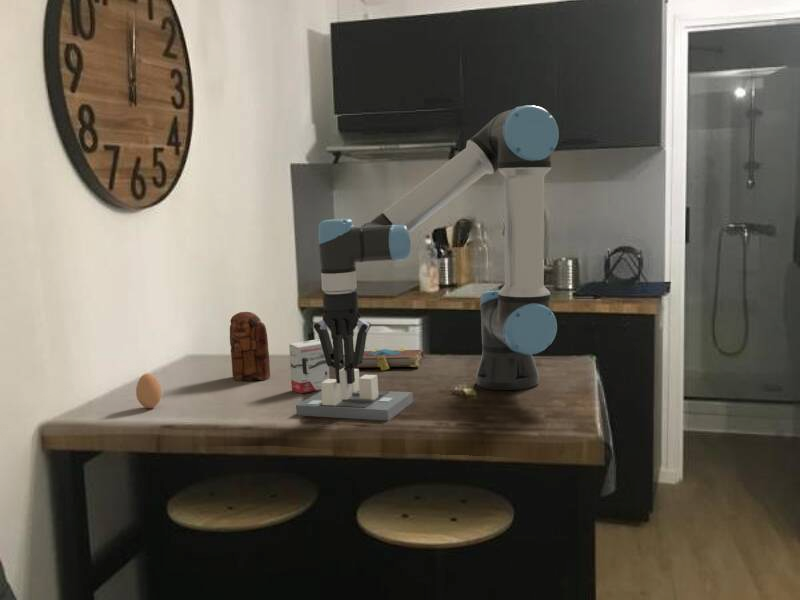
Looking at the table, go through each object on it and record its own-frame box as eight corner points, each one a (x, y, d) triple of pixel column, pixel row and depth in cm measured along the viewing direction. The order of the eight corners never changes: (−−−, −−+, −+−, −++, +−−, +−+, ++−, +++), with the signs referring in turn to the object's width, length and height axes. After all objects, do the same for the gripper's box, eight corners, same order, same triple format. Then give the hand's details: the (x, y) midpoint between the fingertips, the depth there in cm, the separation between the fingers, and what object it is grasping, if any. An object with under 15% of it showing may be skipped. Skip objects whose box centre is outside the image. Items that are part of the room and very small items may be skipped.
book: (340, 363, 245) (339, 346, 245) (425, 361, 242) (424, 344, 241) (327, 373, 229) (326, 355, 229) (417, 371, 225) (417, 353, 225)
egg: (142, 405, 204) (139, 371, 203) (166, 404, 204) (162, 370, 203) (134, 411, 199) (130, 377, 198) (158, 410, 199) (155, 375, 197)
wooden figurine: (225, 380, 225) (219, 314, 223) (236, 375, 231) (231, 310, 229) (265, 381, 222) (259, 314, 219) (275, 376, 228) (270, 310, 225)
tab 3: (378, 396, 190) (377, 375, 190) (372, 400, 187) (370, 378, 186) (366, 396, 191) (365, 374, 191) (359, 400, 188) (358, 378, 187)
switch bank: (413, 402, 194) (412, 389, 193) (388, 420, 180) (387, 406, 180) (326, 397, 202) (325, 385, 201) (296, 415, 188) (295, 402, 188)
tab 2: (360, 389, 197) (358, 369, 197) (353, 393, 194) (352, 372, 193) (348, 389, 199) (347, 368, 198) (341, 393, 195) (340, 372, 195)
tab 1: (341, 401, 188) (340, 379, 188) (334, 405, 185) (333, 383, 184) (329, 400, 189) (328, 378, 189) (322, 404, 186) (320, 382, 185)
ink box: (300, 394, 207) (297, 346, 205) (291, 390, 211) (288, 343, 209) (331, 387, 212) (327, 341, 210) (321, 384, 216) (318, 338, 214)
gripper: (374, 288, 183) (380, 394, 187) (320, 288, 188) (327, 392, 192) (360, 293, 176) (367, 403, 180) (304, 293, 181) (312, 400, 185)
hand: (346, 397), depth 186 cm, fingers closed
